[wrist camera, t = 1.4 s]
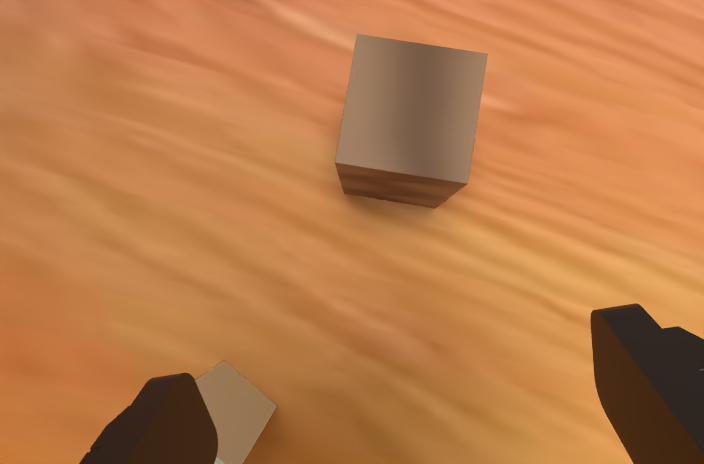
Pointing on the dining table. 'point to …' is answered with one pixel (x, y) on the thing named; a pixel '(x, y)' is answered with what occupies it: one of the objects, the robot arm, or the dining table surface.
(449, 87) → the tower upper
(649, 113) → the dining table surface
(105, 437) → the robot arm
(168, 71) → the dining table surface
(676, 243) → the dining table surface
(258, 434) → the sage block
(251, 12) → the dining table surface
